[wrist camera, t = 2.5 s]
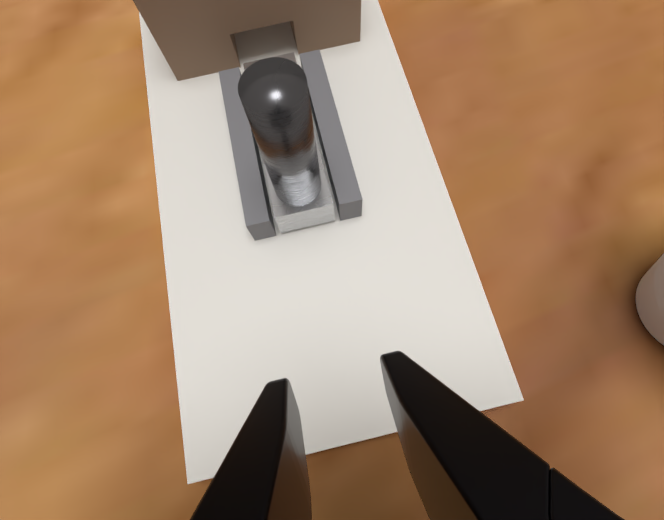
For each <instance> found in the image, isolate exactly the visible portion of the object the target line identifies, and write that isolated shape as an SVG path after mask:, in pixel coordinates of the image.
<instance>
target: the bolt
mask: <svg viewBox="0 0 664 520" xmlns="http://www.w3.org/2000/svg"><path fill="white" fill-rule="evenodd" d="M243 66H244V72H243V73H242V75H241V77H240V79H239V82H238V94H239V97H240V100H241V102H242V105H243V108H244V110H245V113H246V116H247V118H248V121H249V124H250V126H251V129H252V131H253V134H254V137H255V139H256V142H257V145H258V147H259V150H260V153H261V155H262V159H263V164H264V169H265V174H266V179H267V184H268V189H269V193H270V198H271V203H272V208H273V213H274V218H275V220H276V222H277V225H278V227H279V229H280V232H281V233H284V232H288V231H292V230H297V229H301V228H305V227H310V226H314V225H318V224H323V223H327V222H331V221H335V216H334V206H333V201H332V197H331V193H330V189H329V185H328V182H327V178H326V174H325V170H324V166H323V162H322V158H321V155H320V151H319V147H318V143H317V139H316V135H315V131H314V126H313V119H312V112H311V105H310V98H309V91H308V84H307V77H306V75H305V72H304V71H303V69H302V68H301V67H300V66H299V65H298V64H297V62H296V58H295V54H294V52H292V53H288V54H283V55H278V56H274V57H269V58H265V59H260V60H256V61H251V62H246V63H243Z"/></svg>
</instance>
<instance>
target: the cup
mask: <svg viewBox="0 0 664 520" xmlns="http://www.w3.org/2000/svg"><path fill="white" fill-rule="evenodd" d="M636 307H637V311H638V314H639V317H640V319H641V321H642V323H643V324H644V326H645V328H646V329H647V330H648V332H649V333H650V334H651V335H652V336H653V337H654V338H655V339H656V340H657V341H658V342H660V343H661V344H662V345H664V253H663V254H662V255H661V257H660V258H659V259H658V260H657V261H656V262H655V263H654V265H653V266H652V267H651V268H650V269H649V270H648V271H647V273H646V274H645V275H644V276H643V277H642V279H641V280H640V282H639V284H638V287H637V290H636Z"/></svg>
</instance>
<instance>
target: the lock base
mask: <svg viewBox="0 0 664 520" xmlns="http://www.w3.org/2000/svg"><path fill="white" fill-rule="evenodd" d="M133 1H134V3H135V5H136V7H137V9H138V10H139V15H140V25H141V35H142V45H143V54H144V64H145V74H146V83H147V93H148V103H149V113H150V122H151V132H152V142H153V152H154V161H155V171H156V181H157V191H158V200H159V210H160V220H161V230H162V239H163V249H164V259H165V268H166V278H167V288H168V298H169V307H170V317H171V327H172V337H173V346H174V356H175V366H176V376H177V385H178V395H179V405H180V414H181V424H182V434H183V444H184V453H185V463H186V473H187V483H188V484H190V483H194V482H198V481H202V480H206V479H210V478H214V476H215V474H216V472H217V471H218V469H219V467H220V465H221V463H222V462H223V460H224V458H225V456H226V455H227V453H228V451H229V449H230V447H231V446H232V444H233V442H234V440H235V438H236V437H237V435H238V433H239V431H240V430H241V428H242V426H243V424H244V422H245V421H246V419H247V417H248V415H249V414H250V412H251V410H252V408H253V406H254V405H255V403H256V401H257V399H258V397H259V396H260V394H261V392H262V390H263V389H264V387H265V385H266V384H267V383H268V382H270V381H274V380H278V379H282V378H287V379H288V380H289V381H290V384H291V387H292V390H293V393H294V396H295V399H296V402H297V405H298V409H299V413H300V418H301V425H302V432H303V440H304V447H305V455H306V454H310V453H314V452H318V451H323V450H327V449H331V448H335V447H339V446H343V445H347V444H351V443H355V442H359V441H363V440H367V439H371V438H375V437H379V436H383V435H387V434H391V433H395V432H398V431H397V428H396V425H395V421H394V418H393V415H392V411H391V408H390V404H389V401H388V398H387V394H386V390H385V385H384V380H383V374H382V369H381V363H380V356H381V355H382V354H385V353H389V352H393V351H401V352H403V353H404V354H406V355H407V356H408V357H409V358H411V359H412V360H413V361H415V362H416V363H417V364H419V365H420V366H421V367H423V368H424V369H425V370H426V371H428V372H429V373H430V374H432V375H433V376H434V377H436V378H437V379H438V380H440V381H441V382H442V383H443V384H445V385H446V386H447V387H449V388H450V389H451V390H453V391H454V392H455V393H457V394H458V395H459V396H460V397H462V398H463V399H464V400H466V401H467V402H468V403H470V404H471V405H472V406H474V407H475V408H476V409H477V410H479V411H483V410H487V409H491V408H495V407H499V406H503V405H507V404H511V403H515V402H519V401H523V400H524V399H523V396H522V394H521V391H520V388H519V385H518V383H517V380H516V377H515V375H514V372H513V369H512V366H511V364H510V361H509V358H508V355H507V353H506V350H505V347H504V344H503V342H502V339H501V336H500V334H499V331H498V328H497V325H496V323H495V320H494V317H493V314H492V312H491V309H490V306H489V303H488V301H487V298H486V295H485V293H484V290H483V287H482V284H481V282H480V279H479V276H478V273H477V271H476V268H475V265H474V262H473V260H472V257H471V254H470V252H469V249H468V246H467V243H466V241H465V238H464V235H463V232H462V230H461V227H460V224H459V221H458V219H457V216H456V213H455V211H454V208H453V205H452V202H451V200H450V197H449V194H448V191H447V189H446V186H445V183H444V180H443V178H442V175H441V172H440V170H439V167H438V164H437V161H436V159H435V156H434V153H433V150H432V148H431V145H430V142H429V139H428V137H427V134H426V131H425V129H424V126H423V123H422V120H421V118H420V115H419V112H418V109H417V107H416V104H415V101H414V98H413V96H412V93H411V90H410V88H409V85H408V82H407V79H406V77H405V74H404V71H403V68H402V66H401V63H400V60H399V57H398V55H397V52H396V49H395V47H394V44H393V41H392V38H391V36H390V33H389V30H388V27H387V25H386V22H385V19H384V16H383V14H382V11H381V8H380V6H379V3H378V0H133ZM292 52H294V54H295V58H296V62H297V64H298V65H299V66H300V67H301V68H302V69H303V71H304V72H305V75H306V77H307V84H308V91H309V98H310V105H311V112H312V119H313V126H314V131H315V135H316V139H317V143H318V147H319V151H320V155H321V158H322V162H323V166H324V170H325V174H326V178H327V182H328V185H329V189H330V193H331V197H332V201H333V206H334V216H335V221H331V222H327V223H323V224H318V225H314V226H310V227H305V228H301V229H297V230H292V231H288V232H284V233H281V232H280V229H279V227H278V225H277V222H276V220H275V218H274V213H273V208H272V203H271V198H270V193H269V189H268V184H267V179H266V174H265V169H264V164H263V159H262V155H261V153H260V150H259V147H258V145H257V142H256V139H255V137H254V134H253V131H252V129H251V126H250V124H249V121H248V118H247V116H246V113H245V110H244V108H243V105H242V102H241V100H240V97H239V94H238V82H239V79H240V77H241V75H242V73H243V72H244V66H243V63H246V62H251V61H256V60H260V59H265V58H269V57H274V56H278V55H283V54H288V53H292Z"/></svg>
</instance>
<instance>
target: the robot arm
mask: <svg viewBox="0 0 664 520" xmlns="http://www.w3.org/2000/svg"><path fill="white" fill-rule="evenodd" d="M380 363H381V369H382V374H383V380H384V385H385V390H386V394H387V398H388V401H389V404H390V408H391V411H392V415H393V418H394V421H395V425H396V428H397V431H398V435H399V438H400V441H401V445H402V448H403V451H404V455H405V458H406V461H407V464H408V467H409V470H410V473H411V476H412V478H413V481H414V483H415V486H416V488H417V490H418V493H419V495H420V497H421V500H422V502H423V504H424V507H425V509H426V511H427V514H428V516H429V518H430V520H624V519H623V518H621V517H620V516H618V515H617V514H615V513H614V512H613V511H611V510H610V509H608V508H607V507H606V506H604V505H603V504H602V503H600V502H599V501H598V500H596V499H595V498H593V497H592V496H591V495H589V494H588V493H587V492H585V491H584V490H582V489H581V488H580V487H578V486H577V485H576V484H574V483H573V482H572V481H570V480H569V479H568V478H567V477H565V476H564V475H563V474H561V473H560V472H559V471H557V470H556V469H555V468H551V469H550V466H549V464H548V463H547V462H545V461H544V460H543V459H541V458H540V457H539V456H538V455H536V454H535V453H534V452H532V451H531V450H530V449H528V448H527V447H526V446H524V445H523V444H522V443H521V442H519V441H518V440H517V439H515V438H514V437H513V436H511V435H510V434H509V433H508V432H506V431H505V430H504V429H502V428H501V427H500V426H498V425H497V424H496V423H494V422H493V421H492V420H491V419H489V418H488V417H487V416H485V415H484V414H483V413H481V412H480V411H479V410H477V409H476V408H475V407H474V406H472V405H471V404H470V403H468V402H467V401H466V400H464V399H463V398H462V397H460V396H459V395H458V394H457V393H455V392H454V391H453V390H451V389H450V388H449V387H447V386H446V385H445V384H443V383H442V382H441V381H440V380H438V379H437V378H436V377H434V376H433V375H432V374H430V373H429V372H428V371H426V370H425V369H424V368H423V367H421V366H420V365H419V364H417V363H416V362H415V361H413V360H412V359H411V358H409V357H408V356H407V355H406V354H404V353H403V352H401V351H393V352H389V353H385V354H382V355H381V356H380ZM190 520H312V512H311V494H310V485H309V477H308V470H307V462H306V455H305V447H304V440H303V432H302V425H301V418H300V413H299V409H298V405H297V402H296V399H295V396H294V393H293V390H292V387H291V384H290V381H289V380H288V379H287V378H282V379H278V380H274V381H270V382H268V383H267V384H266V385H265V387H264V389H263V390H262V392H261V394H260V396H259V397H258V399H257V401H256V403H255V405H254V406H253V408H252V410H251V412H250V414H249V415H248V417H247V419H246V421H245V422H244V424H243V426H242V428H241V430H240V431H239V433H238V435H237V437H236V438H235V440H234V442H233V444H232V446H231V447H230V449H229V451H228V453H227V455H226V456H225V458H224V460H223V462H222V463H221V465H220V467H219V469H218V471H217V472H216V474H215V476H214V478H213V479H212V481H211V483H210V485H209V487H208V488H207V490H206V492H205V494H204V496H203V497H202V499H201V501H200V503H199V504H198V506H197V508H196V510H195V512H194V513H193V515H192V517H191V519H190Z"/></svg>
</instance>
